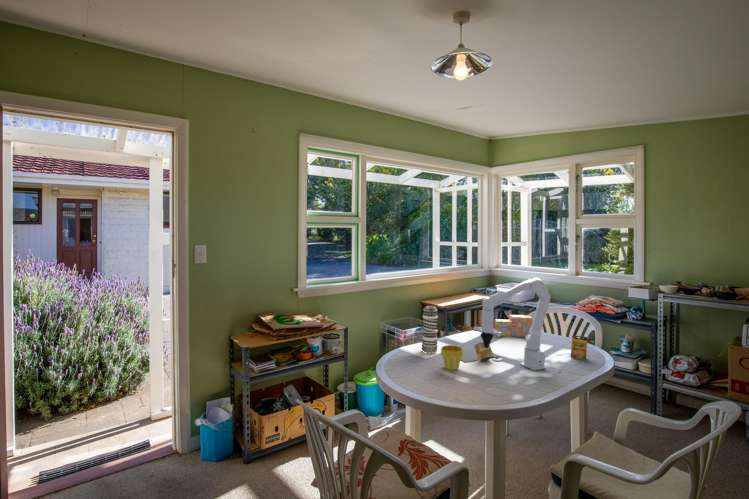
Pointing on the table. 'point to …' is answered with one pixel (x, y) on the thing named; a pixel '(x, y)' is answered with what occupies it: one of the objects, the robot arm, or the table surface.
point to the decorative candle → (429, 329)
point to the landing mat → (471, 355)
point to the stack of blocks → (514, 325)
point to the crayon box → (579, 347)
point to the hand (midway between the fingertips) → (486, 347)
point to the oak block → (483, 352)
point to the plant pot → (451, 356)
